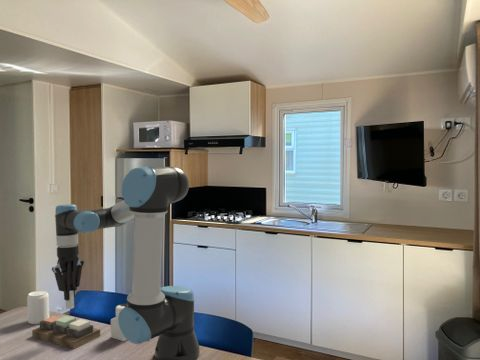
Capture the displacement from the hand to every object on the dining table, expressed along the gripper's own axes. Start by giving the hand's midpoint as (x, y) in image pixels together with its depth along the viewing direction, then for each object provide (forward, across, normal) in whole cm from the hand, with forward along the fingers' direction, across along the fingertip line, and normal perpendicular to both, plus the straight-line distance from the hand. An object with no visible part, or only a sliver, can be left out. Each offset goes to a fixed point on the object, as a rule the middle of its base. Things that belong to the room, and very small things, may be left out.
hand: (70, 307), depth 151 cm
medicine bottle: (+12, -10, +17) cm, 23 cm away
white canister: (+11, -5, -26) cm, 29 cm away
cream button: (+7, 0, +5) cm, 9 cm away
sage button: (+7, 0, -3) cm, 8 cm away
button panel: (+12, 0, -3) cm, 12 cm away
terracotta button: (+8, 0, -10) cm, 13 cm away
